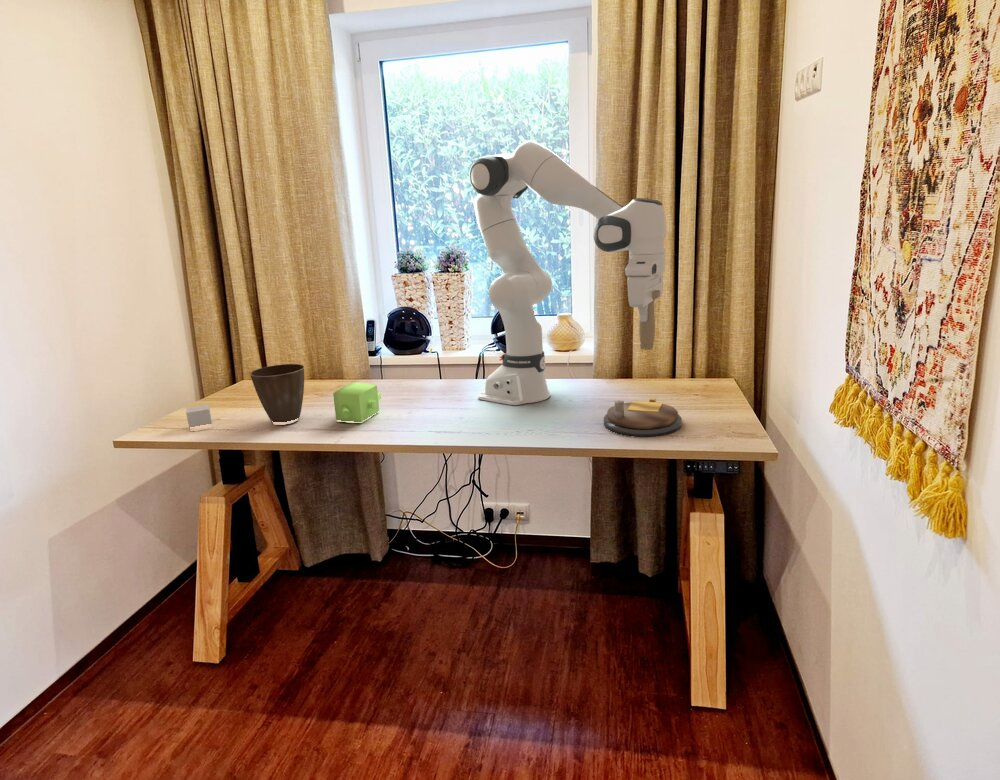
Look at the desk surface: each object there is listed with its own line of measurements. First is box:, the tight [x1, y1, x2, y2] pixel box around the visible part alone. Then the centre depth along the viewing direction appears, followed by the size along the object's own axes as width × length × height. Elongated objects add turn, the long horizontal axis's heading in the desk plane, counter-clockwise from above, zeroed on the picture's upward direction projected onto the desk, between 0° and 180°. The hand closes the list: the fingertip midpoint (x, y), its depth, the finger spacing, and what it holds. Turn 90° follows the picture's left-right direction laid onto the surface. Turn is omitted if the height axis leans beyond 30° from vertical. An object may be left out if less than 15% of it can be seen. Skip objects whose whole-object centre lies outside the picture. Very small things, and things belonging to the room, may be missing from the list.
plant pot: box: [249, 363, 305, 422], centre depth 182 cm, size 15×15×16 cm
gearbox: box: [333, 382, 382, 422], centre depth 182 cm, size 18×10×10 cm, turn 161°
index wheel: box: [606, 400, 679, 429], centre depth 162 cm, size 18×18×6 cm
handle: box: [638, 290, 660, 351], centre depth 160 cm, size 5×6×15 cm
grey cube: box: [185, 404, 213, 429], centre depth 184 cm, size 6×6×6 cm
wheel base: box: [603, 398, 683, 438], centre depth 164 cm, size 20×21×4 cm
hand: (646, 319), depth 160 cm, fingers closed on handle, 3 cm apart
